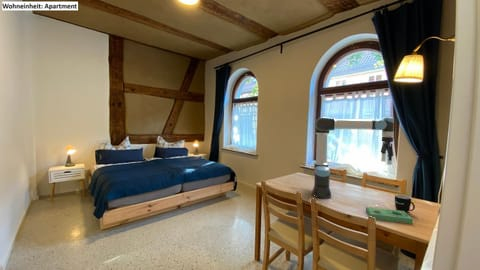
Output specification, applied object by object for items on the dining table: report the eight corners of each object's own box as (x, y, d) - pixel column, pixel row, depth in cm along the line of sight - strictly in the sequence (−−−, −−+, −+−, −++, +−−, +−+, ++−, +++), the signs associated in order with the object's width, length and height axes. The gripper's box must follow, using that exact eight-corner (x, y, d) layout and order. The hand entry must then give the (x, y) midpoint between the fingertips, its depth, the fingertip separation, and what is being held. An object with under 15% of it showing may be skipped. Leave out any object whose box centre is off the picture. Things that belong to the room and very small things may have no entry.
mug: (390, 209, 148) (391, 195, 148) (399, 207, 151) (400, 193, 151) (409, 216, 137) (410, 201, 136) (418, 214, 140) (419, 199, 139)
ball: (374, 212, 136) (374, 206, 136) (372, 209, 140) (372, 203, 140) (381, 212, 135) (382, 206, 135) (379, 210, 139) (379, 204, 139)
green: (370, 218, 134) (371, 214, 133) (365, 211, 145) (365, 206, 145) (412, 223, 127) (412, 219, 127) (403, 215, 138) (404, 211, 138)
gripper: (399, 138, 157) (398, 166, 158) (387, 135, 180) (386, 160, 182) (387, 137, 159) (386, 165, 160) (377, 135, 183) (376, 159, 184)
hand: (386, 162), depth 171 cm, fingers open, 13 cm apart
